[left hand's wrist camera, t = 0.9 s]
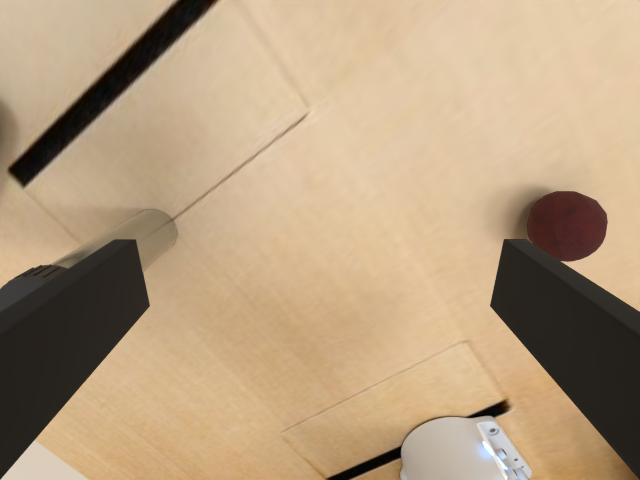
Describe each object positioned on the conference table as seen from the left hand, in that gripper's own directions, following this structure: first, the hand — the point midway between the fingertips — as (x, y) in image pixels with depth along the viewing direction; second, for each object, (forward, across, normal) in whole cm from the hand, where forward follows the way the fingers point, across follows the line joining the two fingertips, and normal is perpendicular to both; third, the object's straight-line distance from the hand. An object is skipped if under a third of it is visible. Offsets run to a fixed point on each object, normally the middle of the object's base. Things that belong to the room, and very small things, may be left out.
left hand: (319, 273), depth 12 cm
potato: (+28, +27, -6) cm, 39 cm away
